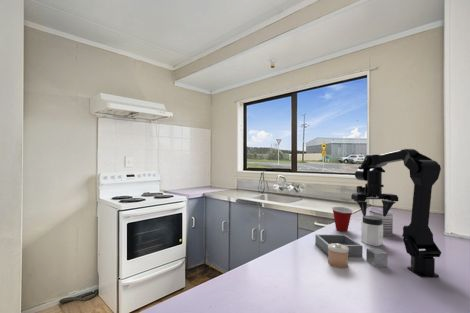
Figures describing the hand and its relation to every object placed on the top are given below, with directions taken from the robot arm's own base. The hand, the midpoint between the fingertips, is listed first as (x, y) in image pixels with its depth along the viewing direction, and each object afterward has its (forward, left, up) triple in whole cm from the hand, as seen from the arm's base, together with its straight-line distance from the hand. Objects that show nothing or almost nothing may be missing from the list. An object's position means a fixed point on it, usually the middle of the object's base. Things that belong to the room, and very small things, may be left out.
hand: (374, 216), depth 108 cm
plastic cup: (+24, +3, -14) cm, 28 cm away
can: (+21, -17, -14) cm, 30 cm away
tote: (-4, +19, -14) cm, 24 cm away
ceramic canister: (-17, +25, -14) cm, 33 cm away
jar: (+5, -2, -14) cm, 15 cm away
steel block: (-17, +10, -14) cm, 24 cm away
